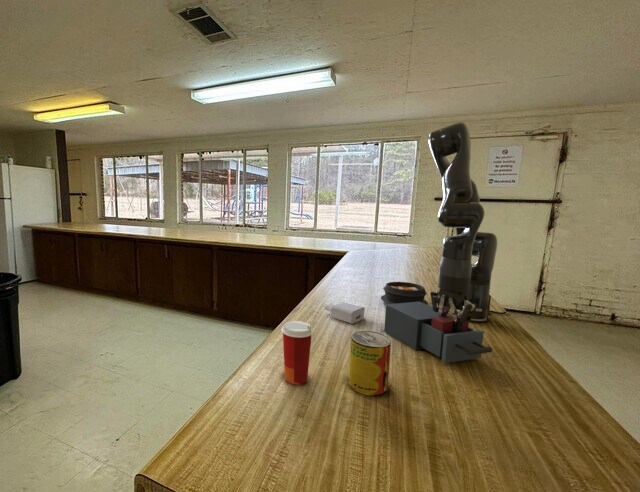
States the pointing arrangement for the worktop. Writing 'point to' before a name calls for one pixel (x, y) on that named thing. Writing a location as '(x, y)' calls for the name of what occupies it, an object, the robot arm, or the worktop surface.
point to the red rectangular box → (447, 324)
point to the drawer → (452, 343)
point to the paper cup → (296, 351)
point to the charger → (346, 312)
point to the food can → (369, 363)
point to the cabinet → (408, 321)
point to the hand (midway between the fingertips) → (449, 330)
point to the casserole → (403, 293)
